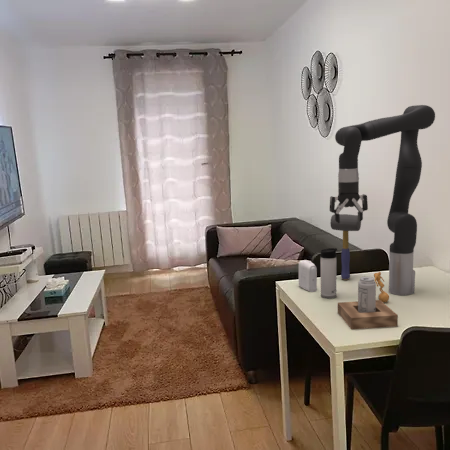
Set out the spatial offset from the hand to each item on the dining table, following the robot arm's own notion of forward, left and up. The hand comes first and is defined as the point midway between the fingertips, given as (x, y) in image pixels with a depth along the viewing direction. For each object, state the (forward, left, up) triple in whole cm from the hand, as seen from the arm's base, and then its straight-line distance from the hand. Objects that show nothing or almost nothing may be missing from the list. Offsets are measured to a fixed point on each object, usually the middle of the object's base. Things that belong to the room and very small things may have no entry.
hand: (348, 222), depth 190 cm
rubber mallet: (-8, -28, -32) cm, 43 cm away
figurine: (-12, +4, -32) cm, 34 cm away
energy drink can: (0, +20, -32) cm, 38 cm away
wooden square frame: (0, +21, -32) cm, 38 cm away
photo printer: (+12, -18, -32) cm, 39 cm away
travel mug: (+6, -6, -32) cm, 33 cm away
